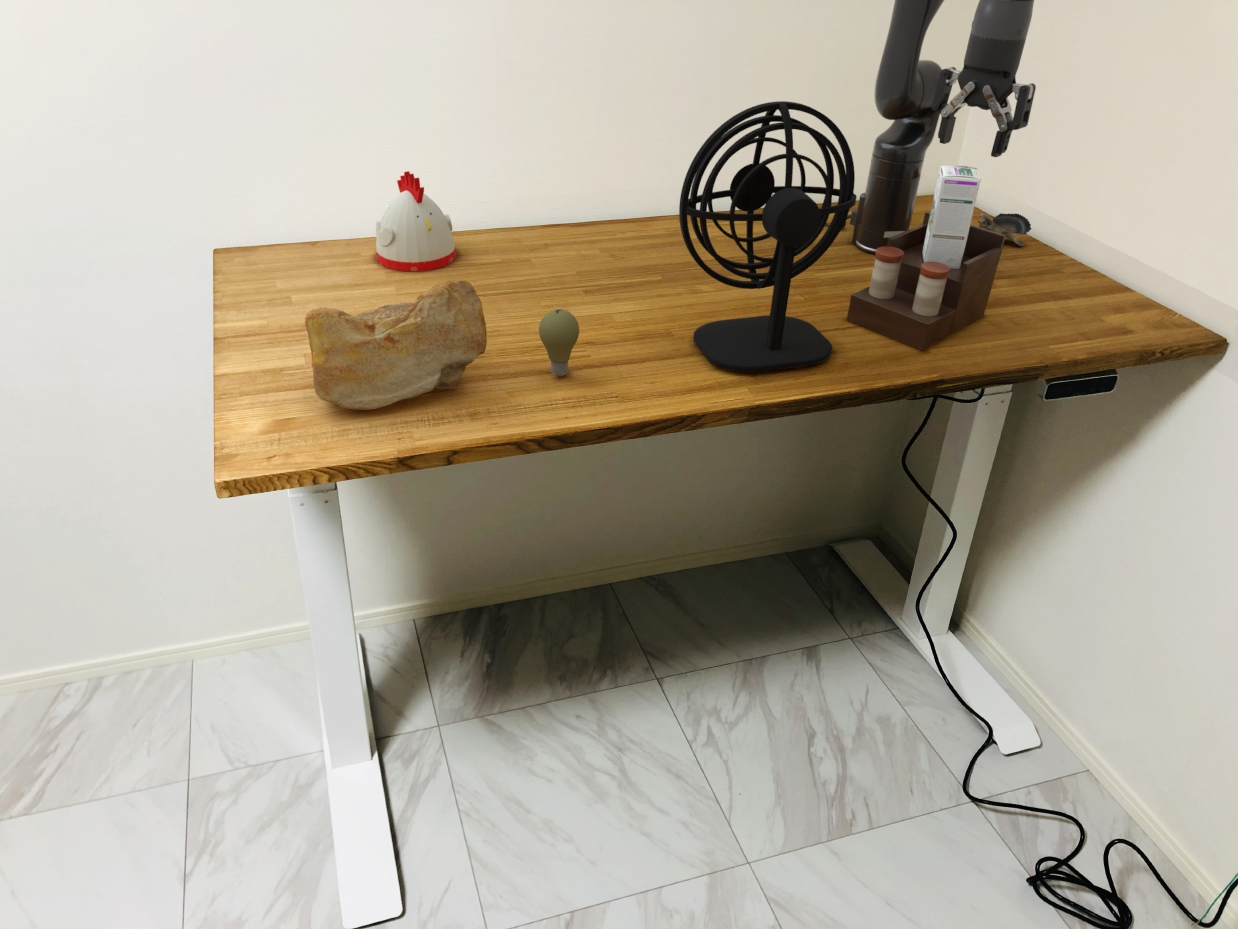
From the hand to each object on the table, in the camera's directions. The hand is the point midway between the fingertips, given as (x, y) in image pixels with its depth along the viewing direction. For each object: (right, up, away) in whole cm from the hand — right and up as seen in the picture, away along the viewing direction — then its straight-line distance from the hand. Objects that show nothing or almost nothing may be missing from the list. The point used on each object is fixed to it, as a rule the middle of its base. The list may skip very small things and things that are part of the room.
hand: (969, 149), depth 140 cm
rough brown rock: (-83, -36, -10) cm, 91 cm away
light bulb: (-61, -35, -7) cm, 71 cm away
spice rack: (-4, -23, +13) cm, 27 cm away
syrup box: (-1, -15, +10) cm, 18 cm away
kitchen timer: (-89, -10, +28) cm, 94 cm away
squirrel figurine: (+22, -4, +42) cm, 48 cm away
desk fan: (-31, -29, +3) cm, 43 cm away
